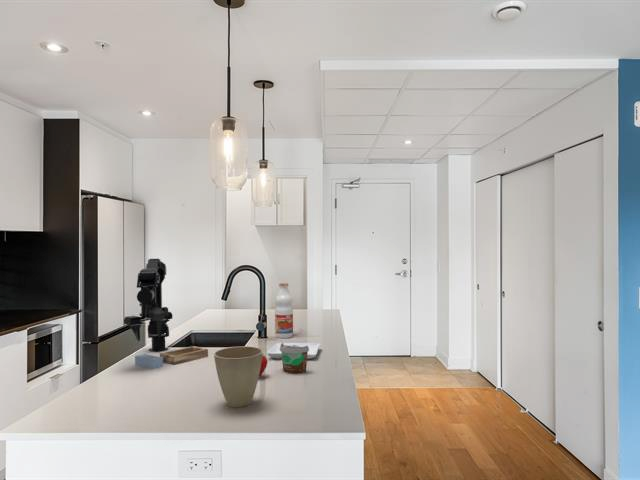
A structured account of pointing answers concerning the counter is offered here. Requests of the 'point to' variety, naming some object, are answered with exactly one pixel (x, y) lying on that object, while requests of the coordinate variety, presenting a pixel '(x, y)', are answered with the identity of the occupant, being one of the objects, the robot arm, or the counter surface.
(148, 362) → the fuselage block
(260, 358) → the plant pot
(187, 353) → the wooden tray
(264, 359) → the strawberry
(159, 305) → the robot arm
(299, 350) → the food container
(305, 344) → the salad plate
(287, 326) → the fruit juice
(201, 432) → the counter surface
